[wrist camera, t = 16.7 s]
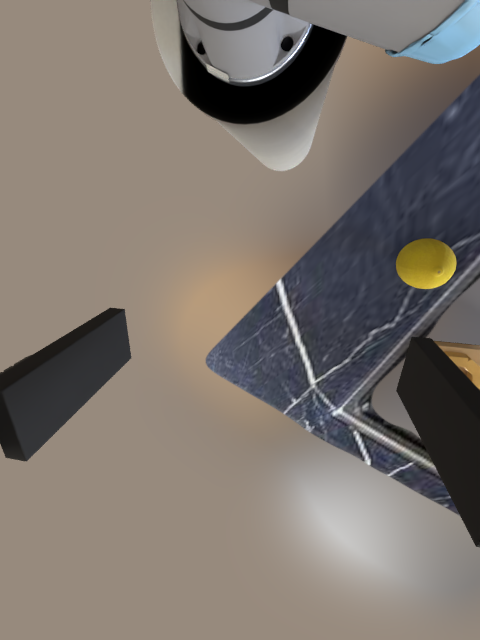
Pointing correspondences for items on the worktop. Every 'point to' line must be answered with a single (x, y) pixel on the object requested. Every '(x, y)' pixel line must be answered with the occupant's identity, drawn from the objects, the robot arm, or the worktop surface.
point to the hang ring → (466, 366)
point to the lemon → (426, 263)
